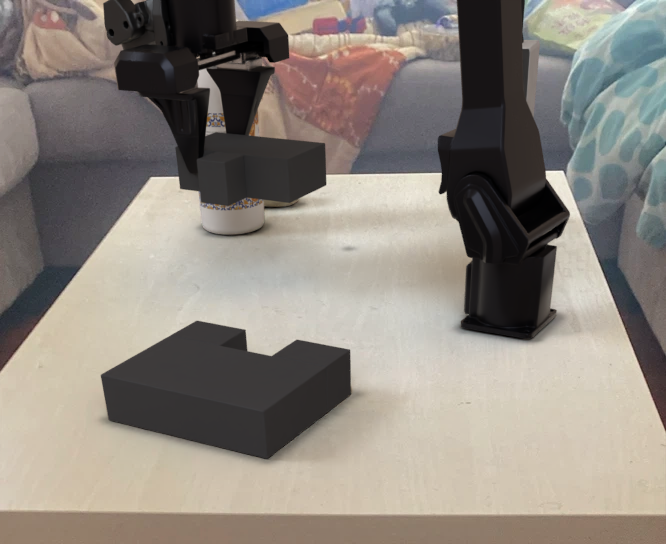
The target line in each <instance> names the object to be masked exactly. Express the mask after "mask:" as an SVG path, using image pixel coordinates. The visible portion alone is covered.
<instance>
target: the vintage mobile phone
mask: <svg viewBox="0 0 666 544" xmlns="http://www.w3.org/2000/svg"><path fill="white" fill-rule="evenodd" d="M525 6H526V0H521V10H522V50H523V88H524V95H525V99H526V101H527V104H528V106H529V108H530V111H531V113H532V115H533V118H534V117H535V107H536V106H535V105H536V94H537V84H538V83H537V82H538V70H539V59H540V47H541V43H540V40H539V39H524V22H525V21H524V19H525ZM534 119H535V118H534Z"/></svg>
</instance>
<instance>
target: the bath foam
mask: <svg viewBox="0 0 666 544" xmlns="http://www.w3.org/2000/svg"><path fill="white" fill-rule="evenodd" d="M214 53H215V52H214ZM214 53H213V54H214ZM197 81H198V87H200V88H210V97H209V106H208V115H207V125H206V135H205V136H207V135H210V134H213V133H215V132H219V133H226V128H225V121H224V114H223V108H222V101H221V94H220V90H219V88H218V87H217V85H216V84H215V82H214V81H213V79H212V78H211V76H210V75H209V73H208V72H207V70H206V69H203V70H199V78H198V80H197ZM259 121H260V119H259V109H258V110H257V113H256V116H255V118H254V121H253V124H252V127H251V130H250V133H249V136H259V137H261V136H260V125H259V124H260V122H259ZM197 194H198V203H199V212H200V222H201V227H202V228H203V229H204V230H205V231H207V232H209V233H212V234H215V235H226V236H227V235H229V236H230V235H231V236H232V235H234V236H235V235H244V234H249V233H251V232H255V231H258V230H259V229H260V228H262V227H263V226H264V224H265V221H266V220H265V217H266V216H265V206H264V200H262V199H254V198H245V199H243V200H240V201H238V202H236V203H234V204H232V205H229V206H224V205H217V204H209V203H202V202H201V197H200V191H197Z"/></svg>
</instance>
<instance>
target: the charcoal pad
mask: <svg viewBox="0 0 666 544" xmlns="http://www.w3.org/2000/svg"><path fill="white" fill-rule="evenodd" d="M247 341H248V340H247V330H246V329H243V328H240V327H239V328H238V327H233V326H227V325H222V324H218V323H213V322H207V321H201V320H194V321H192V322H191V323H189V324H188V325H186V326H185V327H182V328H181V329H179V330H177V331H175V332H174V333H172V334H170V335H169V336H167V337H165V338H163V339H161V340H160V341H158V342H156V343H154V344H152V345H151V346H149V347H147V348H145V349H144V350H141V351H140V352H138V353H136V354H135V355H133V356H131V357H130V358H127V359H126V360H124V361H122V362H120V363H119V364H117V365H115V366H114V367H112V368H110V369H108V370H106V371H105V372H103V373H101V374H100V379H101V386H102V389H103V396H104V403H105V407H106V414H107V418H108V421H110V422H111V421H112V422H115V423H119V424H123V425H127V426H131V427H136V428H138V429H144V430H147V431H152V432H156V433H160V434H163V435H167V436H173V437H176V438H180V439H184V440H189V441H193V442H197V443H201V444H205V445H209V446H212V447H216V448H221V449H226V450H230V451H233V452H236V453H241V454H246V455H250V456H253V457H257V458H262V459H266V460H267V459H269V458H271V457H272V456H273V455H275V454H276V453H277V452H278V451H280V450H281V449H282V448H283V447H285V446H286V445H287V444H289V443H290V442H291V441H293V440H294V439H295V438H296V437H298V436H299V435H300V434H302V433H303V432H304V431H306V430H307V429H308V428H309V427H311V426H312V425H313V424H314V423H316V422H317V421H319V420H320V419H321V418H322V417H323V416H325V415H326V414H327V413H329V412H330V411H332V410H333V409H334V408H335V407H337V406H338V405H339V404H341V402H343V401H345V400H346V399H348V398H349V396H351V395H352V373H351V371H352V370H351V368H352V367H351V366H352V364H351V349H350V348H343V347H339V346H334V345H328V344H323V343H318V342H312V341H307V340H302V339H295V340H294V341H292V342H291V343H289V344H288V345H286V346H285V347H283V348H281V349H280V350H278V351H277V352H275V353H274V354H272V355H268V354H263V353H258V352H254V351H248V342H247Z"/></svg>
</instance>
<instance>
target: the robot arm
mask: <svg viewBox="0 0 666 544" xmlns="http://www.w3.org/2000/svg"><path fill="white" fill-rule="evenodd" d="M102 7H103V23H104V28H105V31H106V37H107V40H108V41H110V43H111V44H112V45H114V46H115V47H116V46H120V45H121V47H122V50H120V51H119V53H118V54H117V56H116V58H115V60H114V61H113V66H114V67H113V68H114V75H115V81H116V88H117V90H118V91H123V92H124V91H126V92H137V94H138V95H139V96H140V97H141V98H147V99H149V101H151V103H153V104H154V105H155V106H156V107H157V108H158V109H159V110H160V112H161V113H162V115H163V117H164V120H165V121H166V123H167V125H168V127H169V130H170V131H171V134H172V136H173V139H174V141H175V144H176V147H177V146H178V148H179V150H180V153H181V155H182V157H183V160H184V162H185V165H186V167H187V169H188V171H189V173H192V174H198V168H197V159H199V158H201V157H203V154H204V145H205V135H206V125H207V115H208V106H209V97H210V88H200V87H198V81H197V80H198V78H199V70H203V69H206V70H207V72H208V73H209V75H210V76H211V78H212V79H213V81H214V82H215V84H216V85H217V87H218V88H219V90H220V94H221V101H222V108H223V114H224V121H225V128H226V133H229V134H239V135H249V133H250V130H251V127H252V124H253V121H254V118H255V116H256V113H257V110H258V111H259V107H260V105H261V102H262V99H263V96H264V94H265V92H266V89H267V86H268V84H269V81H270V79H271V77H272V75H274V74H275V73H276V67H275V66H271V65H263V58H266V60H267V61H268V63H271V64H276V63H279V62H283V61H285V60H289V59H290V41H289V38H290V37H289V34H288V33H287V31H286V30H285V28H284V27H283V25H282V24H281V23H280V22H275V21H274V22H273V21H256V20H255V21H254V20H252V21H251V20H238V21H237V12H236V0H143V1H138V2H136V3H135V2H134V1H133V0H106V1H105V2H103V3H102ZM456 13H457V14H456V15H457V31H458V32H457V33H458V48H459V49H458V50H459V64H460V68H459V69H460V83H461V109H460V113H459V117H458V120H457V124H456V127H455V128H454V129H451V130H450V131H447V132H445V133H443V134H440V135H439V136H437V153H438V158H439V163H440V168H441V169H440V170H441V176H440V178H441V179H440V185H439V188H438V193H439V195H443V194H445V193H446V203H447V207H448V211H449V213H450V215H451V217H452V219H454V220H456V221H457V222H458V227H459V229H460V233H461V238H462V242H463V246H464V249H465V253H466V257H467V258H471V261H470V262H469V263H467V264H466V266H465V282H464V298H463V299H464V301H463V312H464V314H465V315H466V316H465V317H464V318H462V319H461V320H460V325H459V326H460V328H462V329H466V330H471V331H472V330H473V331H478V332H483V333H491V334H495V335H502V336H507V337H512V338H519V339H525V340H530V339H532V338H534V337H535V336H536V335H537V334H538V333H539V332H540V331H542V330H543V328H545V327H546V326H547V325H548V324H549V323H550V322H551V321H553V319H555V318H556V317H557V311H558V310H557V309H556V308H551V307H552V306H551V305H552V297H553V287H554V277H555V268H556V260H557V259H556V258H557V250H558V246H557V245H553V244H549V243H551V242H552V241H554V240H555V239H556V240H557V239H559V238H560V237H562V235H563V233H564V230H565V228H566V226H567V224H568V222H569V219H570V216H571V212H570V210H569V209H568V207H567V206H566V204H565V203H564V202H563V200H562V199H561V197H560V196H559V194H558V193H557V191H556V190H555V189H554V187H553V185H552V184H551V182H550V181H549V180H548V179H547V171H546V164H545V157H544V153H543V147H542V141H541V133H540V130H539V128H538V125H537V123H536V120H535V118H533V115H532V113H531V111H530V108H529V106H528V104H527V101H526V99H525V95H524V88H523V50H522V10H521V0H456ZM214 52H215V53H214ZM213 53H214V54H213Z"/></svg>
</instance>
